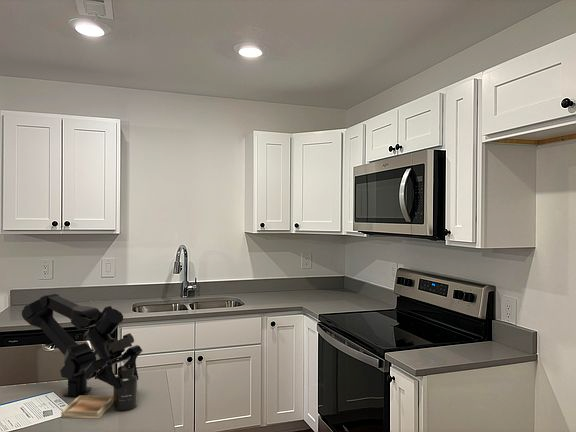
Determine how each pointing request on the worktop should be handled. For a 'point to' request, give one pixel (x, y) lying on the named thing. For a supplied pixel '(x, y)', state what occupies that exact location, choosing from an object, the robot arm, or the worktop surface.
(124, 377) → the supplement bottle
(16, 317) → the worktop surface
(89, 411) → the tray
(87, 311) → the robot arm
